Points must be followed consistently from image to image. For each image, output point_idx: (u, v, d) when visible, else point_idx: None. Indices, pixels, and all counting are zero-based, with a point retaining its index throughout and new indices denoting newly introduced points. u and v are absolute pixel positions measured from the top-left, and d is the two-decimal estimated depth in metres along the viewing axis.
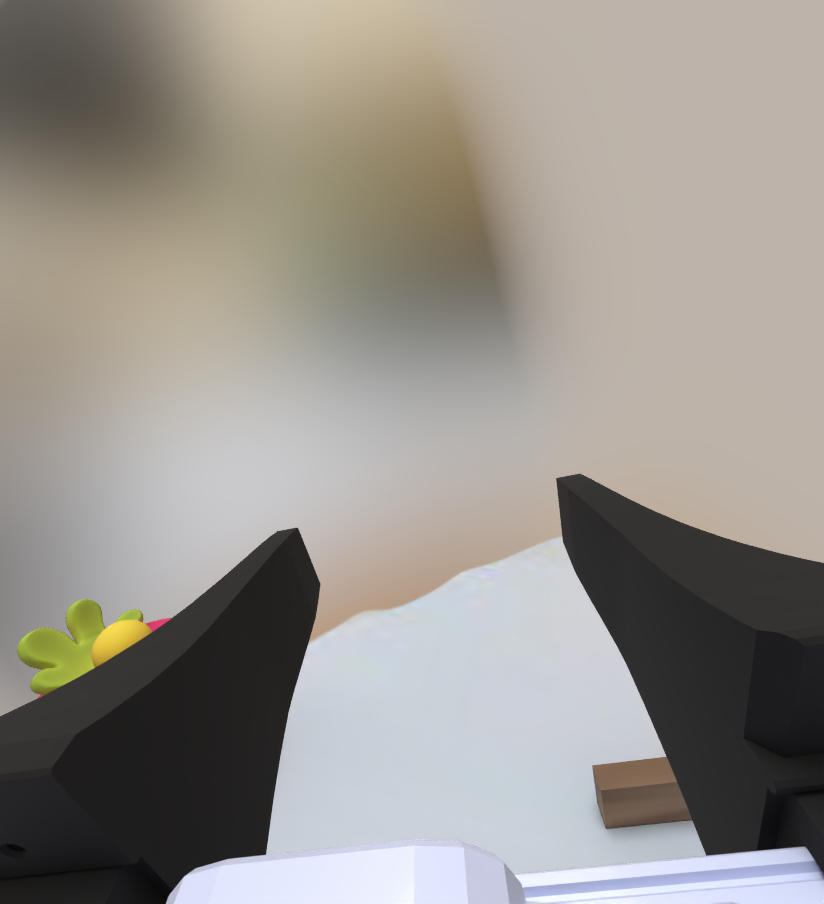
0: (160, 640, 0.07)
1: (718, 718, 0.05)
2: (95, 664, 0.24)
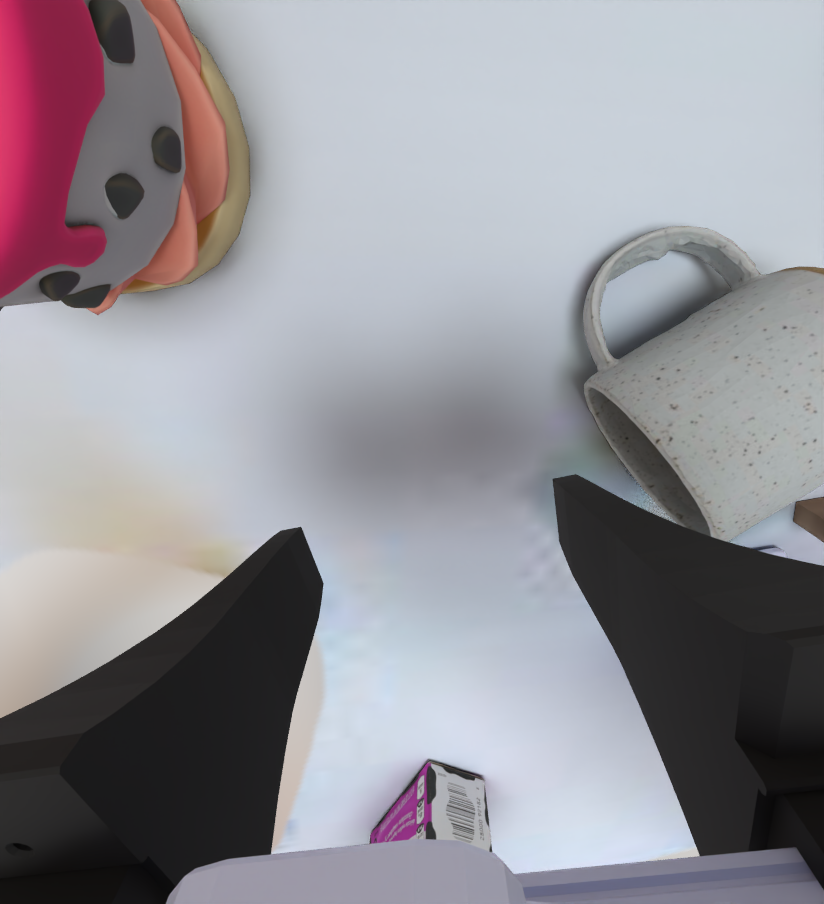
0: (165, 638, 0.07)
1: (710, 719, 0.05)
2: None
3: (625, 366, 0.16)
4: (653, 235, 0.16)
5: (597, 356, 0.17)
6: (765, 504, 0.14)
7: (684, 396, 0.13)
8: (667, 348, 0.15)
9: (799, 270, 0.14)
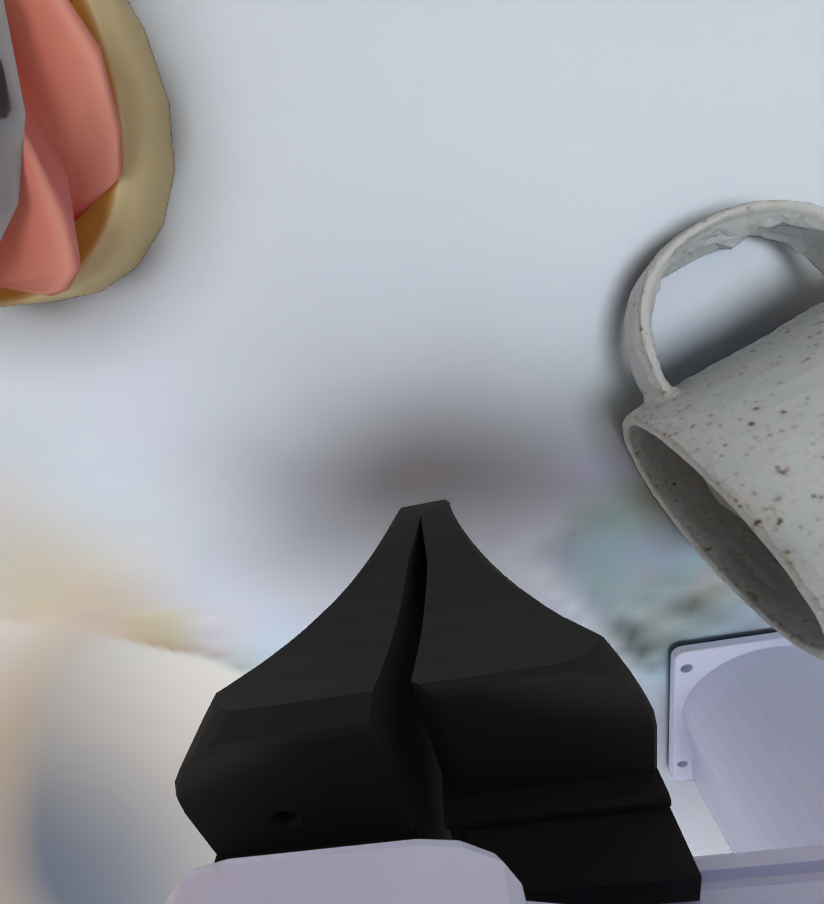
0: (353, 607, 0.07)
1: None
2: None
3: (692, 400, 0.11)
4: (730, 213, 0.11)
5: (646, 382, 0.12)
6: None
7: (798, 454, 0.09)
8: (758, 376, 0.10)
9: None
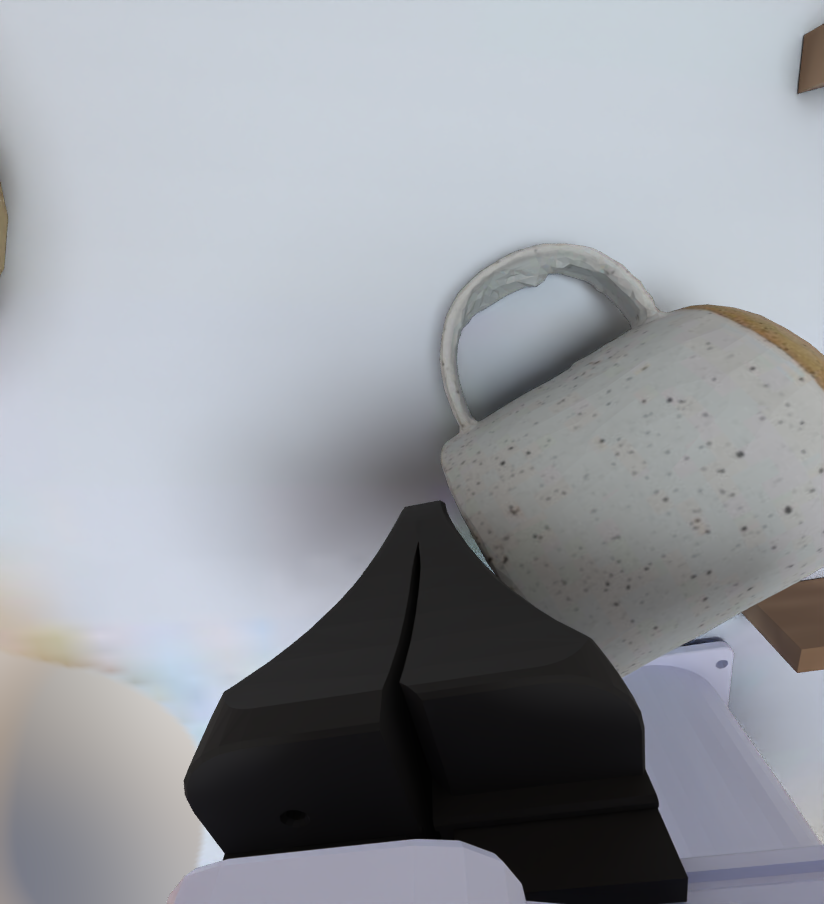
0: (359, 606, 0.07)
1: None
2: None
3: (476, 436, 0.11)
4: (520, 255, 0.12)
5: None
6: (646, 651, 0.09)
7: (528, 495, 0.09)
8: (525, 415, 0.11)
9: (703, 310, 0.10)
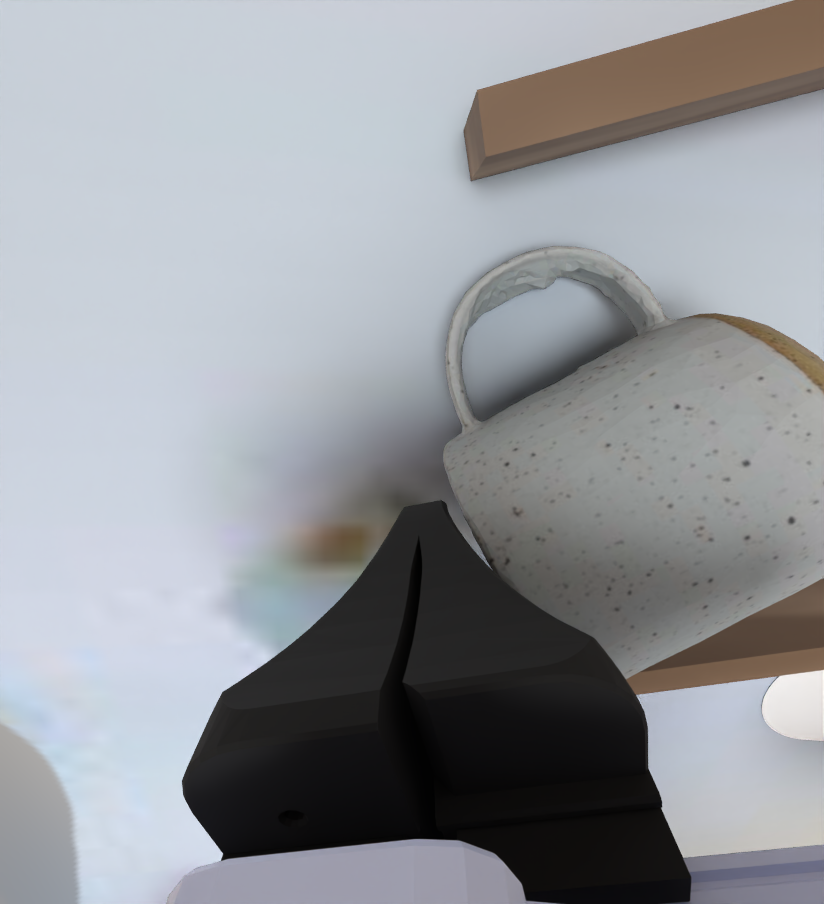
0: (358, 606, 0.07)
1: None
2: None
3: (480, 436, 0.11)
4: (530, 256, 0.12)
5: (457, 414, 0.13)
6: (644, 658, 0.09)
7: (532, 497, 0.09)
8: (530, 417, 0.11)
9: (712, 319, 0.10)
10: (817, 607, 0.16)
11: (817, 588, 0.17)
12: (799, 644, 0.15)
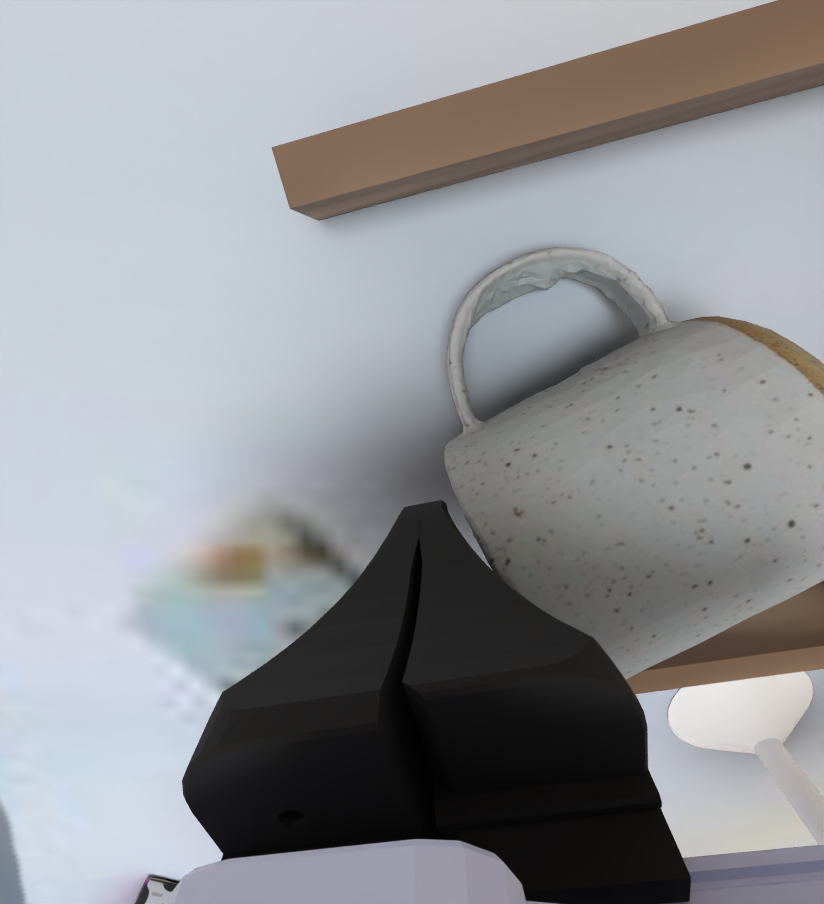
0: (358, 606, 0.07)
1: None
2: None
3: (481, 436, 0.11)
4: (533, 257, 0.12)
5: (458, 414, 0.13)
6: (643, 659, 0.09)
7: (533, 497, 0.09)
8: (532, 418, 0.11)
9: (714, 322, 0.10)
10: None
11: None
12: (671, 661, 0.16)
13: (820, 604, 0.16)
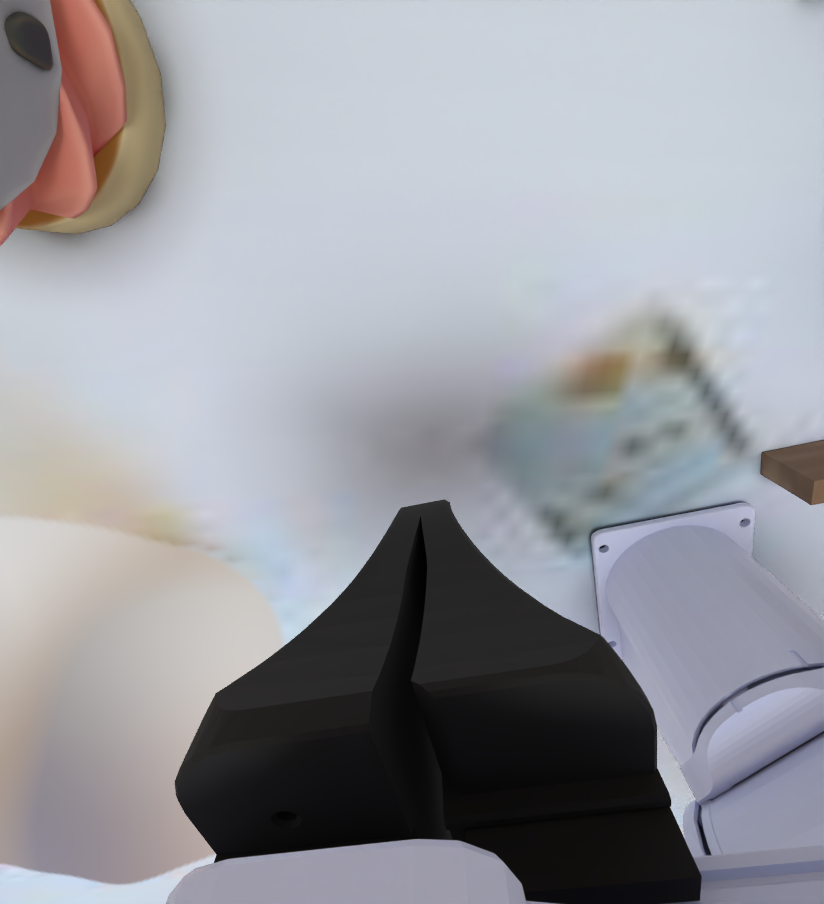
0: (353, 607, 0.07)
1: None
2: None
3: None
4: None
5: None
6: None
7: None
8: None
9: None
10: None
11: None
12: None
13: None
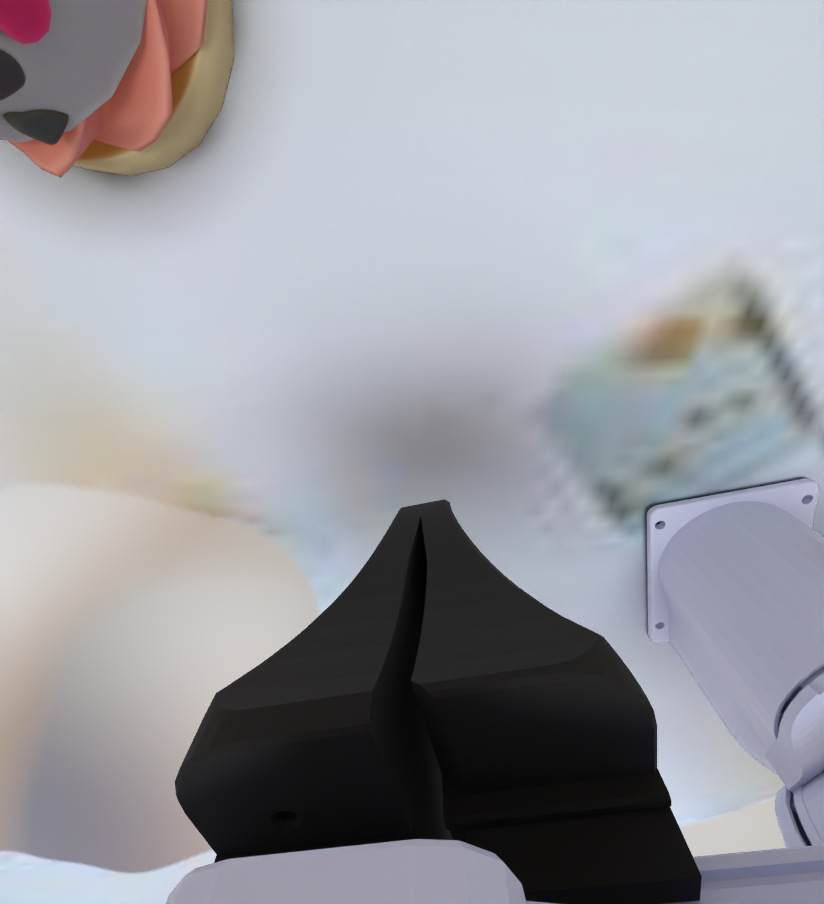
0: (353, 607, 0.07)
1: None
2: None
3: None
4: None
5: None
6: None
7: None
8: None
9: None
10: None
11: None
12: None
13: None
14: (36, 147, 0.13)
